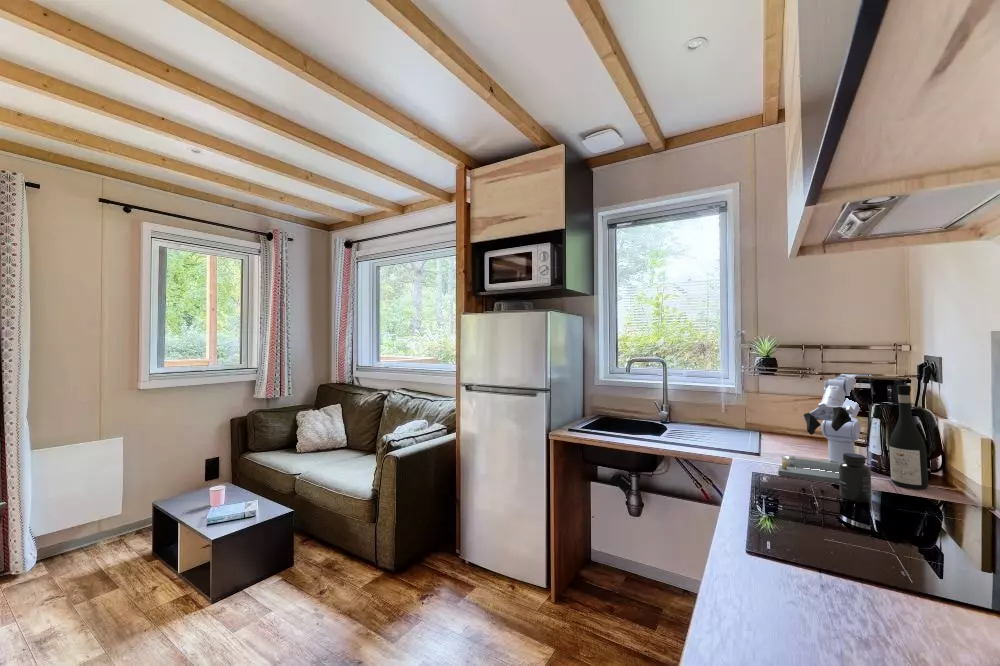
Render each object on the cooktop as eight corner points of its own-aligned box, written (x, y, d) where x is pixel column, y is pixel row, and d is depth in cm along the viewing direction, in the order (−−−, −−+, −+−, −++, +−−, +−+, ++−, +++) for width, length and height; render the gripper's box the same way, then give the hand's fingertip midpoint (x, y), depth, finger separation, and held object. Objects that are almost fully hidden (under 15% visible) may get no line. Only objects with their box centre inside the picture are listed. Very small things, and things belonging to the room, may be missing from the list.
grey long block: (783, 464, 151) (782, 454, 151) (838, 471, 142) (838, 460, 142) (782, 468, 147) (781, 457, 148) (839, 475, 138) (838, 464, 138)
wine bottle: (919, 491, 121) (912, 386, 123) (885, 483, 129) (879, 384, 130) (934, 487, 124) (928, 385, 126) (900, 480, 132) (895, 383, 133)
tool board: (780, 470, 145) (779, 458, 145) (864, 481, 132) (863, 468, 132) (778, 475, 140) (777, 462, 140) (866, 487, 126) (865, 473, 126)
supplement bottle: (834, 496, 119) (832, 453, 119) (848, 492, 122) (846, 450, 122) (864, 504, 113) (861, 459, 113) (877, 500, 116) (875, 456, 116)
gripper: (802, 399, 150) (791, 424, 143) (847, 389, 138) (837, 416, 131) (815, 414, 150) (805, 440, 143) (861, 406, 138) (852, 434, 131)
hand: (821, 430), depth 137 cm, fingers open, 7 cm apart
